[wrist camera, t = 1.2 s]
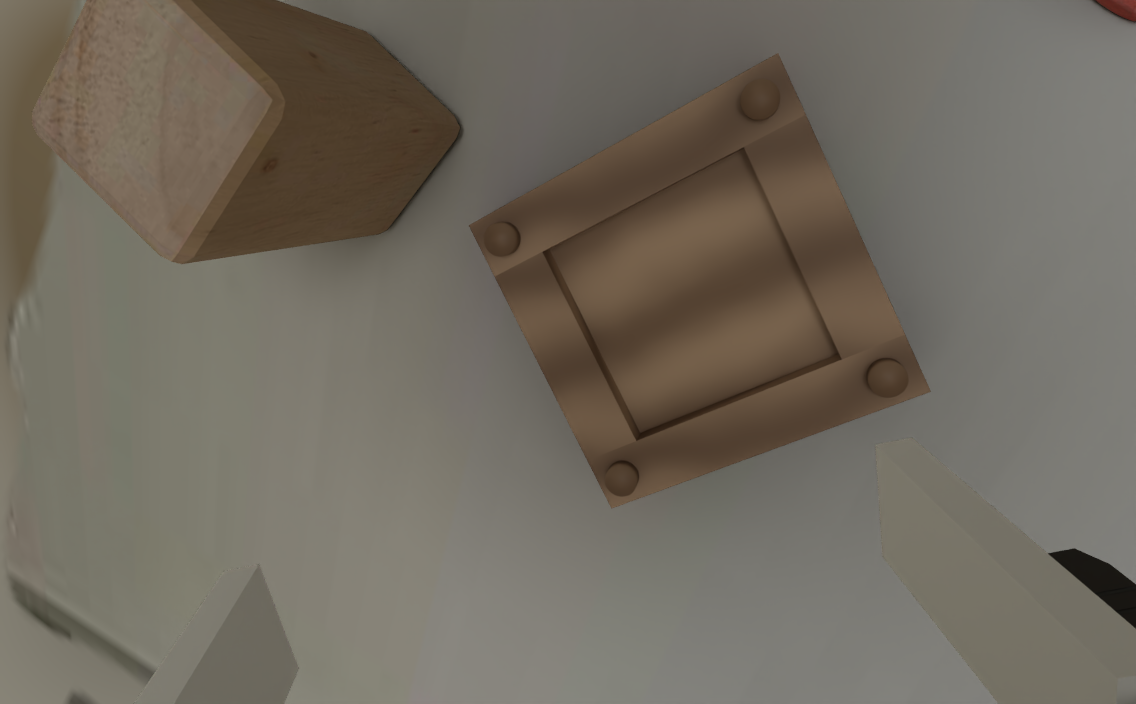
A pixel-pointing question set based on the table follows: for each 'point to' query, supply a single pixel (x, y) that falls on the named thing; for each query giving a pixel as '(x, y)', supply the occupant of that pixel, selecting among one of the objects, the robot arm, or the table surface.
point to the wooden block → (239, 124)
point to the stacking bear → (1121, 7)
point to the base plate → (700, 291)
